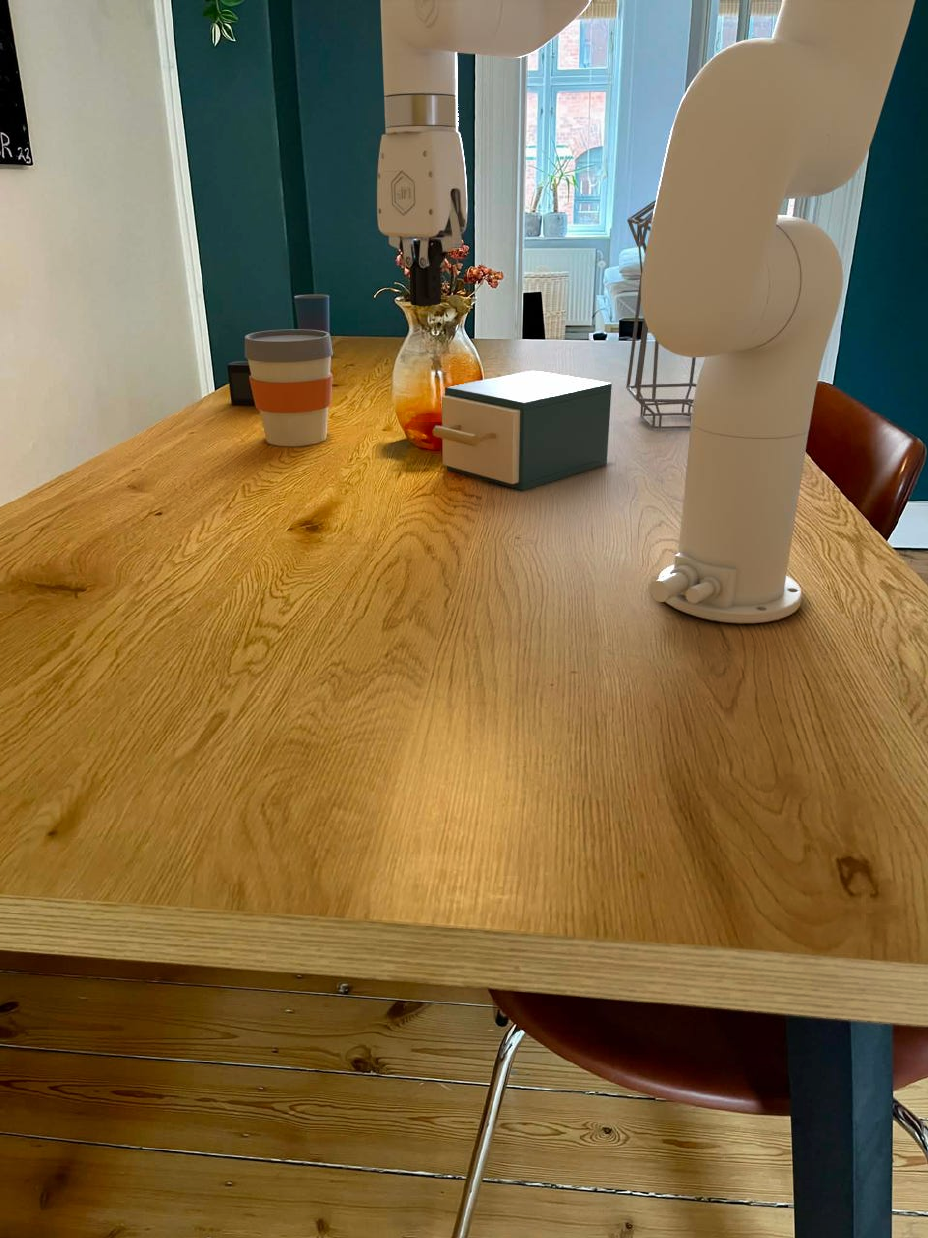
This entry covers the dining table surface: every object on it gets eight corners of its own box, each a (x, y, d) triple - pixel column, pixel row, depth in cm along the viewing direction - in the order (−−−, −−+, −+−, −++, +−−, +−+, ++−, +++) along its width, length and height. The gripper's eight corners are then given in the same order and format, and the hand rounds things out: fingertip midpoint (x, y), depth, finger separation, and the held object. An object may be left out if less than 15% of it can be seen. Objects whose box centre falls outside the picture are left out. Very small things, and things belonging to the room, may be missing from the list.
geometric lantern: (632, 435, 138) (650, 177, 123) (613, 412, 152) (627, 178, 137) (735, 433, 138) (766, 176, 123) (707, 411, 152) (731, 178, 137)
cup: (296, 372, 187) (290, 295, 181) (328, 369, 190) (323, 293, 184) (305, 378, 182) (299, 298, 175) (338, 375, 184) (333, 296, 178)
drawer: (488, 491, 109) (488, 417, 105) (418, 471, 117) (416, 401, 114) (592, 460, 122) (596, 392, 118) (523, 443, 130) (524, 379, 126)
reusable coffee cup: (354, 433, 140) (348, 331, 133) (308, 453, 130) (299, 343, 123) (285, 425, 145) (277, 327, 138) (236, 444, 134) (224, 338, 128)
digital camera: (227, 406, 158) (223, 365, 155) (240, 400, 163) (235, 359, 160) (284, 408, 156) (281, 366, 153) (295, 401, 161) (292, 361, 158)
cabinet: (522, 490, 113) (524, 402, 108) (446, 469, 122) (444, 386, 117) (607, 464, 123) (611, 383, 119) (531, 446, 132) (533, 370, 128)
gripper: (348, 120, 97) (357, 302, 105) (443, 111, 87) (446, 313, 95) (402, 123, 102) (407, 297, 109) (498, 115, 92) (497, 307, 100)
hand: (425, 304), depth 102 cm, fingers closed
